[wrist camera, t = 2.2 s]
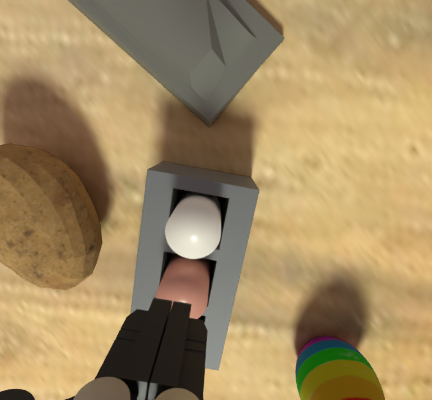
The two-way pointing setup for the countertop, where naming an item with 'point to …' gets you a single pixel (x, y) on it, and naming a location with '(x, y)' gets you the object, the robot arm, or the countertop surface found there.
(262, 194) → the countertop surface
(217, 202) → the white egg
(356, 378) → the decorative egg
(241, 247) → the grey rectangular block
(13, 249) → the potato
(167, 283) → the brown egg
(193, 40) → the soap mold
